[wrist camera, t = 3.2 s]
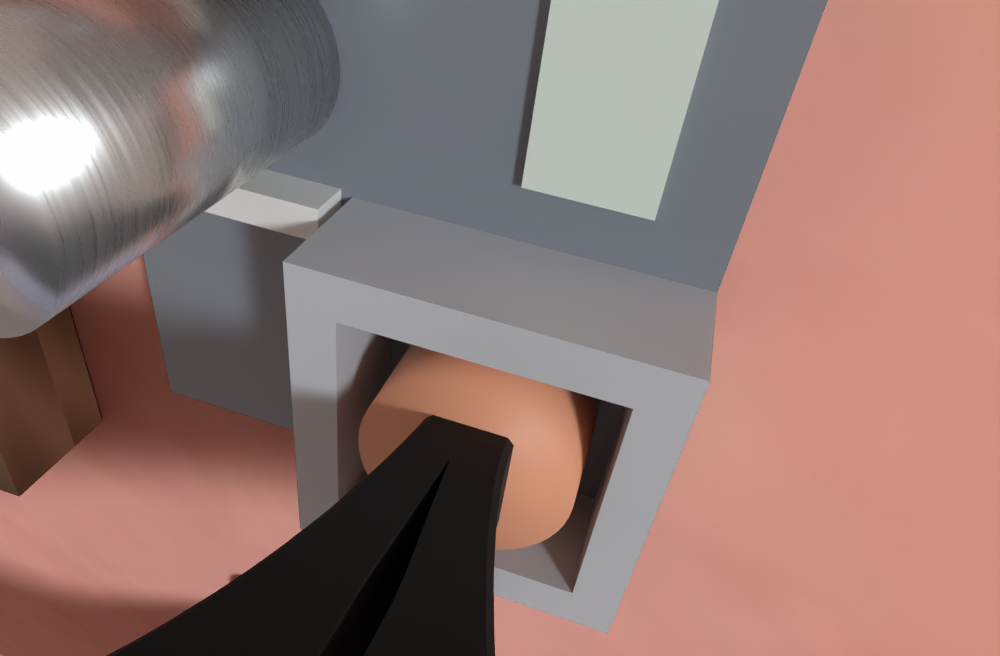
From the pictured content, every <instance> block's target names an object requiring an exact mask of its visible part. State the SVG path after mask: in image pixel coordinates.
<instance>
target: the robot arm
mask: <svg viewBox="0 0 1000 656" xmlns="http://www.w3.org/2000/svg"><path fill="white" fill-rule="evenodd" d="M513 447H514V445H513V444H512V442H511V441H510V440H509V438H507V437H504V436H501V435H498V434H494V433H491V432H488V431H484V430H481V429H478V428H474V427H471V426H468V425H465V424H461V423H458V422H455V421H452V420H448V419H445V418H442V417H439V416H435V415H431V416H429V417H427V418H425V419H424V420H423V421H422V423H421V424H420V425H419V426H418V427H417V428H416V429H415V430H414V431H413V432H412V433H411V434H410V435H409V436H408V437H407V438H406V439H405V440H404V441H403V442H402V443H401V444H400V445H399V446H398V447H397V448H396V449H395V450H394V451H393V452H392V453H391V454H390V455H389V456H388V457H387V458H386V459H385V460H384V461H383V462H382V463H381V464H380V465H378V466H377V467H376V468H375V469H374V470H373V471H372V472H371V473H370V474H369V475H368V476H366V477H365V478H364V479H363V480H362V481H361V482H360V483H358V484H357V485H356V486H355V487H354V488H353V489H352V490H350V491H349V492H348V493H347V494H346V495H345V496H344V497H342V498H341V499H340V500H339V501H338V502H337V503H336V504H334V505H333V506H332V507H331V508H330V509H328V510H327V511H326V512H325V513H323V514H322V515H321V516H320V517H318V518H317V519H316V520H315V521H313V522H312V523H311V524H309V525H308V526H307V527H306V528H304V529H303V530H302V531H301V532H299V533H298V534H297V535H295V536H294V537H293V538H292V539H290V540H289V541H288V542H287V543H285V544H284V545H283V546H281V547H280V548H279V549H277V550H276V551H274V552H273V553H272V554H270V555H269V556H268V557H266V558H265V559H263V560H262V561H261V562H259V563H258V564H256V565H255V566H253V567H252V568H251V569H249V570H248V571H246V572H245V573H243V574H242V575H240V576H239V577H237V578H236V579H234V580H233V581H231V582H230V583H229V584H227V585H226V586H224V587H223V588H221V589H219V590H218V591H216V592H215V593H213V594H212V595H210V596H208V597H207V598H205V599H204V600H202V601H200V602H199V603H197V604H196V605H194V606H192V607H191V608H189V609H187V610H186V611H184V612H183V613H181V614H179V615H178V616H176V617H175V618H173V619H171V620H170V621H168V622H166V623H165V624H163V625H161V626H159V627H158V628H156V629H154V630H153V631H151V632H149V633H147V634H146V635H144V636H142V637H140V638H139V639H137V640H135V641H133V642H131V643H129V644H127V645H126V646H124V647H122V648H120V649H118V650H116V651H114V652H112V653H111V654H109V655H107V656H495V643H494V560H495V542H496V528H497V525H498V521H499V517H500V512H501V507H502V502H503V497H504V492H505V487H506V482H507V477H508V472H509V467H510V462H511V457H512V452H513Z"/></svg>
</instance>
